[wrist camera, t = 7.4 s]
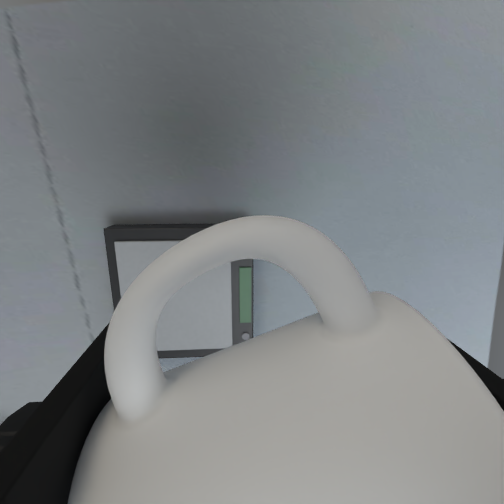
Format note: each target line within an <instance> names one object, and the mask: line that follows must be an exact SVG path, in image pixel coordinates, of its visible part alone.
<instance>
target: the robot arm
mask: <svg viewBox="0 0 504 504" xmlns="http://www.w3.org/2000/svg"><path fill="white" fill-rule="evenodd" d="M109 324H110V323H109ZM109 324H108V325H107V326H106V327H105V328H104V330H103V331H102V332H101V333H100V334H99V336H98V337H97V338H96V339H95V340H94V341H93V343H92V344H91V345H90V346H89V347H88V349H87V350H86V351H85V352H84V353H83V354H82V356H81V357H80V358H79V359H78V360H77V362H76V363H75V364H74V365H73V366H72V367H71V369H70V370H69V371H68V372H67V373H66V375H65V376H64V377H63V378H62V379H61V380H60V382H59V383H58V384H57V385H56V386H55V388H54V389H53V390H52V391H51V392H50V393H49V395H48V396H47V397H46V398H45V399H44V400H43V402H29V403H27V404H26V405H24V406H23V407H22V408H20V409H19V410H17V411H16V412H15V413H13V414H12V415H10V416H9V417H8V418H7V419H6V420H5V421H4V422H3V423H2V424H1V425H0V504H68V498H69V494H70V489H71V485H72V480H73V477H74V473H75V469H76V466H77V463H78V460H79V457H80V454H81V451H82V448H83V446H84V443H85V441H86V438H87V436H88V434H89V432H90V430H91V428H92V425H93V424H94V422H95V420H96V418H97V417H98V415H99V414H100V412H101V411H102V409H103V408H104V406H105V405H106V404H107V403H108V402H109V401H110V399H111V396H110V392H109V389H108V386H107V380H106V374H105V366H104V348H105V340H106V335H107V331H108V327H109ZM448 341H449V342H450V343H451V344H452V345H453V346H454V347H455V348H456V349H457V351H458V352H459V353H460V354H461V355H462V357H463V358H464V359H465V360H466V361H467V363H468V364H469V365H470V366H471V367H472V369H473V370H474V371H475V373H476V374H477V375H478V376H479V378H480V379H481V380H482V381H483V383H484V384H485V386H486V387H487V388H488V390H489V391H490V392H491V394H492V395H493V397H494V398H495V399H496V401H497V402H498V404H499V405H500V407H501V408H502V410H503V411H504V379H501V378H500V377H499V376H497V375H496V374H495V373H493V372H492V371H491V370H489V369H488V368H486V367H485V366H484V365H482V364H481V363H480V362H478V361H477V360H476V359H474V358H473V357H471V356H470V355H469V354H467V353H466V352H465V351H463V350H462V349H461V348H459V347H458V346H456V345H455V344H454V343H452V342H451V341H450V340H448Z"/></svg>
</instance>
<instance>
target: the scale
mask: <svg viewBox="0 0 504 504" xmlns="http://www.w3.org/2000/svg"><path fill="white" fill-rule="evenodd" d="M213 225H216V224H144V225H112V226H110V227H107V228H104V235H105V243H106V251H107V259H108V266H109V274H110V282H111V290H112V297H113V305H114V311H115V309H116V307H117V305H118V303H119V301H120V299H121V298H122V296H123V295H124V293H125V292H126V290H127V289H128V287H129V286H130V285H131V284H132V282H133V281H134V280H135V279H136V278H137V277H138V275H139V274H140V273H141V272H142V271H143V270H144V269H145V268H146V267H147V266H148V265H149V264H151V263H152V262H153V261H154V260H155V259H157V258H158V257H159V256H160V255H162V254H163V253H164V252H166V251H167V250H168V249H170V248H171V247H173V246H174V245H176V244H178V243H179V242H181V241H182V240H184V239H186V238H188V237H190V236H191V235H193V234H195V233H198V232H200V231H202V230H204V229H206V228H209V227H211V226H213ZM251 338H253V259H242V260H236V261H232V262H229V263H226V264H223V265H221V266H218V267H216V268H213V269H211V270H209V271H207V272H205V273H203V274H202V275H200V276H198V277H196V278H195V279H193V280H191V281H190V282H188V283H187V284H185V285H184V286H183V287H182V288H180V289H179V290H178V291H177V292H176V293H175V294H174V295H173V296H172V297H171V298H170V299H169V300H168V301H167V303H166V304H165V306H164V307H163V309H162V311H161V313H160V316H159V318H158V322H157V327H156V348H157V353H158V358H183V357H205V356H207V355H210V354H212V353H215V352H218V351H220V350H223V349H225V348H228V347H231V346H233V345H236V344H238V343H241V342H243V341H246V340H249V339H251Z"/></svg>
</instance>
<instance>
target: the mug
mask: <svg viewBox="0 0 504 504" xmlns="http://www.w3.org/2000/svg"><path fill="white" fill-rule="evenodd" d="M242 259H260V260H265V261H269V262H271V263H274V264H276V265H278V266H280V267H281V268H283V269H284V270H286V271H287V272H288V273H290V274H291V275H292V276H293V277H294V278H295V279H296V280H297V281H298V282H299V283H300V284H301V285H302V287H303V288H304V289H305V291H306V292H307V293H308V295H309V296H310V298H311V299H312V301H313V303H314V304H315V306H316V308H317V310H318V312H319V313H316V314H313V315H311V316H308V317H306V318H303V319H300V320H298V321H295V322H293V323H290V324H288V325H285V326H282V327H280V328H277V329H275V330H272V331H269V332H267V333H264V334H262V335H259V336H256V337H254V338H251V339H249V340H246V341H243V342H241V343H238V344H236V345H233V346H231V347H228V348H225V349H223V350H220V351H218V352H215V353H212V354H210V355H207V356H205V357H202V358H199V359H197V360H194V361H192V362H189V363H187V364H184V365H181V366H179V367H176V368H174V369H171V370H168V371H166V372H163V371H162V368H161V365H160V361H159V358H158V353H157V348H156V327H157V322H158V318H159V316H160V313H161V311H162V309H163V307H164V306H165V304H166V303H167V301H168V300H169V299H170V298H171V297H172V296H173V295H174V294H175V293H176V292H177V291H178V290H179V289H180V288H182V287H183V286H184V285H185V284H187V283H188V282H190V281H191V280H193V279H195V278H196V277H198V276H200V275H202V274H203V273H205V272H207V271H209V270H211V269H213V268H216V267H218V266H221V265H223V264H226V263H229V262H232V261H236V260H242ZM104 366H105V374H106V380H107V386H108V389H109V392H110V396H111V399H110V401H109V402H108V403H107V404H106V405H105V406H104V408H103V409H102V411H101V412H100V414H99V415H98V417H97V418H96V420H95V422H94V424H93V425H92V428H91V430H90V432H89V434H88V436H87V438H86V441H85V443H84V446H83V448H82V451H81V454H80V457H79V460H78V463H77V466H76V469H75V473H74V477H73V480H72V485H71V489H70V494H69V498H68V504H504V411H503V410H502V408H501V407H500V405H499V404H498V402H497V401H496V399H495V398H494V397H493V395H492V394H491V392H490V391H489V390H488V388H487V387H486V386H485V384H484V383H483V381H482V380H481V379H480V378H479V376H478V375H477V374H476V373H475V371H474V370H473V369H472V367H471V366H470V365H469V364H468V363H467V361H466V360H465V359H464V358H463V357H462V355H461V354H460V353H459V352H458V351H457V349H456V348H455V347H454V346H453V345H452V344H451V343H450V342H449V341H448V339H447V338H446V337H445V336H444V335H443V334H442V333H441V332H440V331H439V330H438V329H437V328H436V327H435V326H434V325H433V324H432V323H431V322H430V321H429V320H427V319H426V318H425V317H424V316H423V315H422V314H421V313H419V312H418V311H417V310H416V309H414V308H413V307H412V306H410V305H409V304H408V303H406V302H405V301H403V300H401V299H400V298H398V297H396V296H394V295H391V294H389V293H385V292H380V291H375V292H370V293H369V292H368V290H367V288H366V286H365V284H364V282H363V280H362V278H361V276H360V275H359V273H358V271H357V270H356V268H355V267H354V265H353V264H352V262H351V261H350V260H349V258H348V257H347V256H346V255H345V253H344V252H343V251H342V250H341V249H340V248H339V247H338V246H337V245H336V244H335V243H334V242H333V241H332V240H331V239H329V238H328V237H327V236H326V235H324V234H323V233H321V232H320V231H318V230H317V229H315V228H313V227H312V226H309V225H307V224H305V223H303V222H300V221H297V220H294V219H290V218H286V217H281V216H270V215H259V216H247V217H241V218H237V219H233V220H228V221H225V222H222V223H219V224H216V225H213V226H211V227H209V228H206V229H204V230H202V231H200V232H198V233H195V234H193V235H191V236H190V237H188V238H186V239H184V240H182V241H181V242H179V243H178V244H176V245H174V246H173V247H171V248H170V249H168V250H167V251H166V252H164V253H163V254H162V255H160V256H159V257H158V258H157V259H155V260H154V261H153V262H152V263H151V264H149V265H148V266H147V267H146V268H145V269H144V270H143V271H142V272H141V273H140V274H139V275H138V277H137V278H136V279H135V280H134V281H133V282H132V284H131V285H130V286H129V287H128V289H127V290H126V292H125V293H124V295H123V296H122V298H121V299H120V301H119V303H118V305H117V307H116V309H115V311H114V313H113V315H112V318H111V321H110V324H109V327H108V331H107V335H106V340H105V348H104Z"/></svg>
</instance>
